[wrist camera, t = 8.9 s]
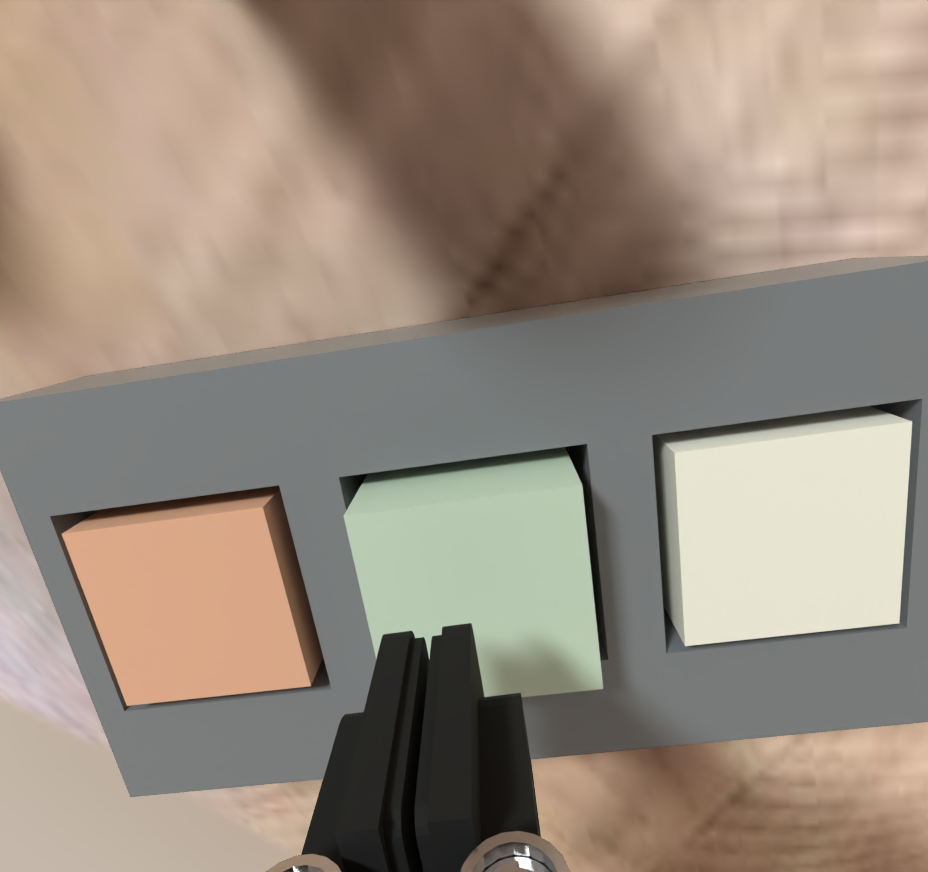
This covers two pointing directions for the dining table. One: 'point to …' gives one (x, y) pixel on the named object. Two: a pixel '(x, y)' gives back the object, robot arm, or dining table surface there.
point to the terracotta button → (198, 596)
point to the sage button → (484, 565)
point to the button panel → (486, 435)
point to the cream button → (783, 524)
